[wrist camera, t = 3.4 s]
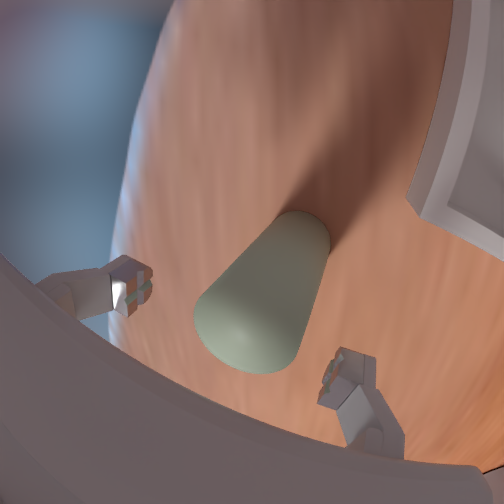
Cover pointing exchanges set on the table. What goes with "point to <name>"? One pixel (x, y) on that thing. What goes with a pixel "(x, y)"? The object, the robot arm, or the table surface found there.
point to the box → (467, 133)
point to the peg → (266, 296)
